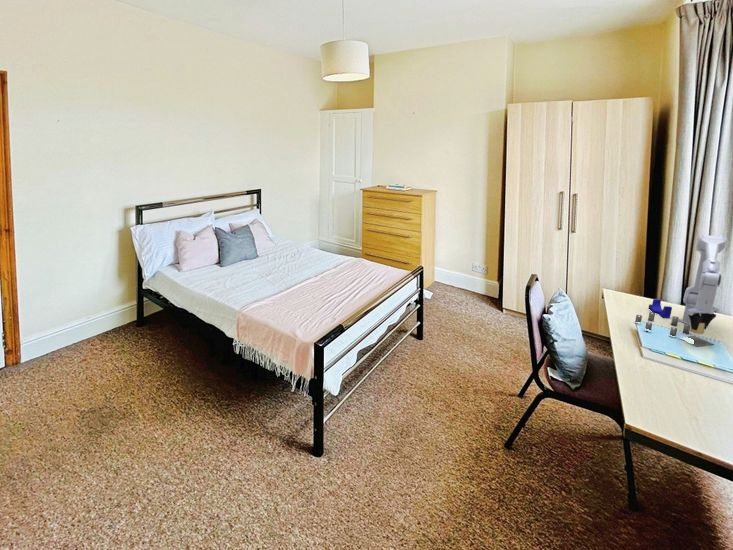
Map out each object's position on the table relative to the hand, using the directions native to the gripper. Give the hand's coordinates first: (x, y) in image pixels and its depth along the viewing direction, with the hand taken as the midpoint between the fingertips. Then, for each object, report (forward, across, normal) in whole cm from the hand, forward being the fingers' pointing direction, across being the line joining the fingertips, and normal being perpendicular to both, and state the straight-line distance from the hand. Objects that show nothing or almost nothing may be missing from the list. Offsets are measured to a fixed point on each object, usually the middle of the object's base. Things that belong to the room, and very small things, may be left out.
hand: (698, 328), depth 186 cm
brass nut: (+2, 0, 0) cm, 2 cm away
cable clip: (+6, +13, +31) cm, 34 cm away
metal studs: (+6, -2, +16) cm, 17 cm away
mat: (+6, 0, 0) cm, 6 cm away
